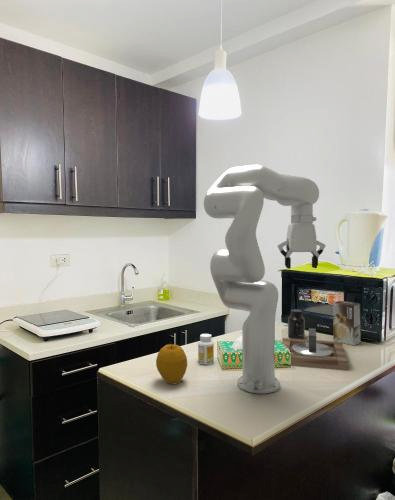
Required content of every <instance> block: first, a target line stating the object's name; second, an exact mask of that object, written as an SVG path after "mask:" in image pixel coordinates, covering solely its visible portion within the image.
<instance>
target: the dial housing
mask: <svg viewBox="0 0 395 500" xmlns="http://www.w3.org/2000/svg"><path fill="white" fill-rule="evenodd" d="M304 342H309V339H306V338H304V339H292V338H288V337H282V340H281V345H282V344H284V345H285V346H286V347H287V348H288V349H289V350H290V352H291V365H292V366H294V367H303V368H305V367H306V368H314V369H315V368H317V369H326V370H327V369H329V370H341V371H349V360H348V356H347V354H346V352H345V348H344V344H343V343H342V342H337V341H333V340H322V339H321V340H319V339H316V343H319V344H324V345H327V346H329V347H331V348H332V349H333V355H332V356H331V357H323V356H310V355H297V354H294V353H293V352H292V346H293V345H294V344H297V343H304ZM291 365H290V366H291ZM292 366H291V367H292Z"/></svg>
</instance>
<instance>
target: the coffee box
mask: <svg viewBox="0 0 395 500" xmlns="http://www.w3.org/2000/svg"><path fill="white" fill-rule="evenodd" d="M332 305H333V310H332V311H333V312H332V313H333V314H332V315H333V318H332V320H333V329H332V330H333V332H332V333H333V340H332V341H337V342H342V344H346V345H350V346H356V345H358V344H360V343H361V342H362V341H361V322H362V321H361V317H362V316H361V313H362V312H361V311H362V309H361V305H362V304H361V303H359V302H351V301H346V300H345V301H343V300H338V301H335V302H333V304H332Z"/></svg>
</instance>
